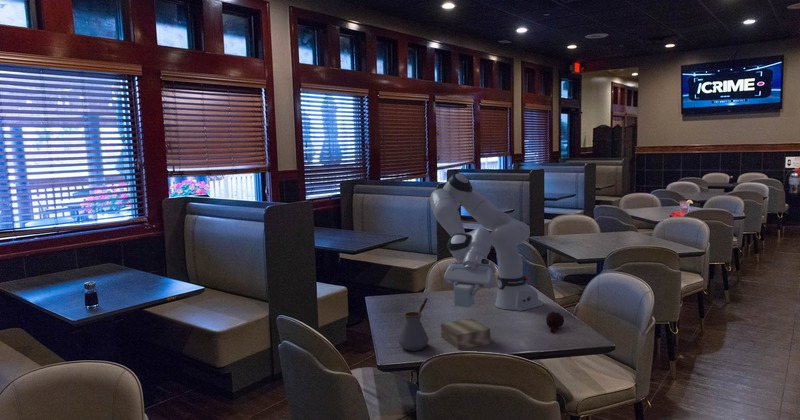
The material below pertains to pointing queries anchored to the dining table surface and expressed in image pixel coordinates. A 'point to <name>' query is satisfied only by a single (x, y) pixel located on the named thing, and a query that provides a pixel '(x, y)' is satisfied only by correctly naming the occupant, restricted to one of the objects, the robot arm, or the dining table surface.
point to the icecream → (554, 321)
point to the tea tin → (464, 295)
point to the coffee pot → (413, 331)
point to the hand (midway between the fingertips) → (463, 293)
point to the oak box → (465, 333)
